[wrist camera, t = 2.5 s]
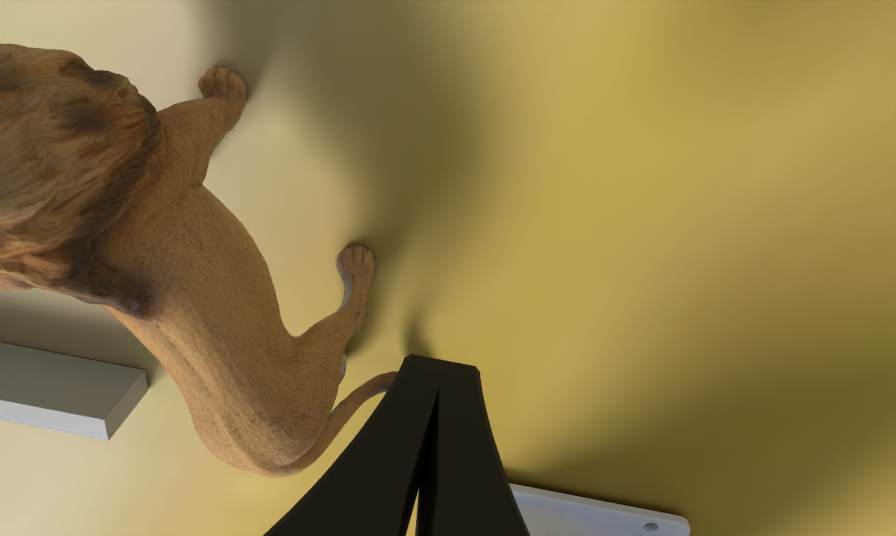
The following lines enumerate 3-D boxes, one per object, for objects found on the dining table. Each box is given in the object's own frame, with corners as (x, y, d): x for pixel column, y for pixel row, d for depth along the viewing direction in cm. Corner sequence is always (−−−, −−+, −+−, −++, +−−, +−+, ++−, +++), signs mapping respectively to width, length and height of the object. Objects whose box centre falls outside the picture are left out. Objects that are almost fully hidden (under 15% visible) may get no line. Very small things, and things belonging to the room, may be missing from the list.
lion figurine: (13, 66, 16) (-446, 202, 8) (125, -70, 14) (-344, -54, 6) (364, 404, 21) (277, 678, 14) (483, 340, 19) (460, 620, 12)
